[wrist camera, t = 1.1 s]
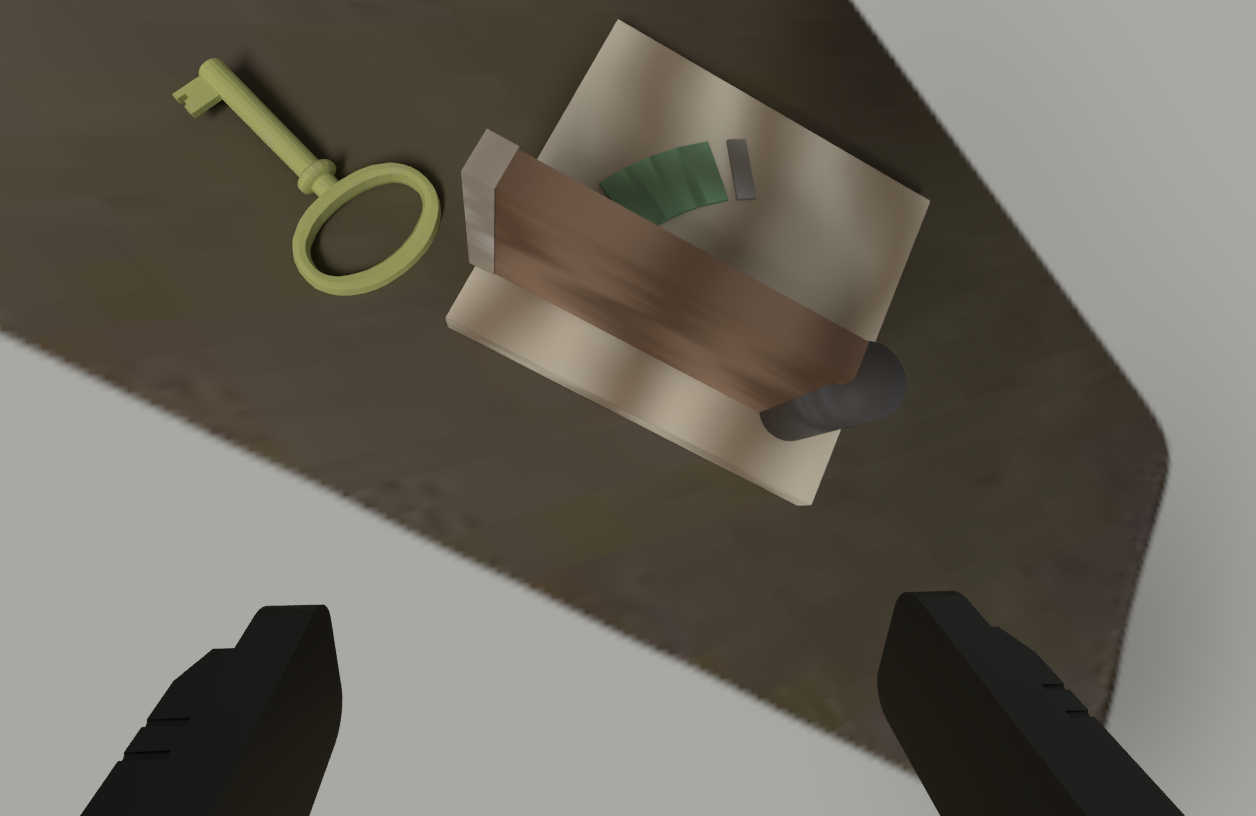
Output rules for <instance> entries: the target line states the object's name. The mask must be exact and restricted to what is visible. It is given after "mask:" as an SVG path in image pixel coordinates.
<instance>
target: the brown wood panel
mask: <svg viewBox="0 0 1256 816" xmlns="http://www.w3.org/2000/svg"><path fill="white" fill-rule="evenodd" d="M461 175H462V186H463V197H464V208H465V219H466V231H467V242H468V253H469V263H471V264H473V265H475V266H476V267H478V268H480V269H482V270H484V271H486V272H488V273H490V274H492V275H494V274H496V275H498V276H500V277H502V278H504V279H506V280H508V281H510V282H511V283H513V284H515V285H517V286H519V287H521V288H523V289H525V290H527V291H529V292H531V293H532V294H534V295H536V296H538V297H540V298H542V299H544V300H546V301H548V302H550V303H551V304H553V305H555V306H557V307H559V308H561V309H563V310H565V311H567V312H569V313H570V314H572V315H574V316H576V317H578V318H580V319H582V320H584V321H586V322H588V323H590V324H591V325H593V326H595V327H597V328H599V329H601V330H603V331H605V332H607V333H609V334H610V335H612V336H614V337H616V338H618V339H620V340H622V341H624V342H626V343H628V344H629V345H631V346H633V347H635V348H637V349H639V350H641V351H643V352H645V353H647V354H649V355H650V356H652V357H654V358H656V359H658V360H660V361H662V362H664V363H666V364H668V365H669V366H671V367H673V368H675V369H677V370H679V371H681V372H683V373H685V374H687V375H688V376H690V377H692V378H694V379H696V380H698V381H700V382H702V383H704V384H706V385H707V386H709V387H711V388H713V389H715V390H717V391H719V392H721V393H723V394H725V395H727V396H728V397H730V398H732V399H734V400H736V401H738V402H740V403H742V404H744V405H746V406H747V407H749V408H751V409H753V410H755V411H757V412H759V414H760V418H761V421H762V423H763V425H764V427H765V428H766V429H767V431H768V432H769V433H770V434H772V435H773V436H774V437H776V438H778V439H780V440H784V441H797V440H801V439H805V438H809V437H813V436H816V435H820V434H824V433H828V432H832V431H836V430H839V429H843V428H847V427H851V426H855V425H859V424H862V423H866V422H870V421H874V420H878V419H882V418H885V417H887V416H889V415H891V414H892V413H894V412H895V411H896V410H897V409H898V408H899V406H900V405H901V403H902V401H903V399H904V396H905V392H906V377H905V372H904V369H903V367H902V365H901V363H900V361H899V359H898V358H897V357H896V355H895V354H894V353H893V352H892V351H891V350H889V349H888V348H887V347H885V346H884V345H881V344H879V343H876V342H873V341H867V340H865V339H863V338H861V337H859V336H858V335H856V334H854V333H852V332H850V331H848V330H847V329H845V328H843V327H841V326H839V325H838V324H836V323H834V322H832V321H830V320H828V319H827V318H825V317H823V316H821V315H819V314H818V313H816V312H814V311H812V310H810V309H808V308H807V307H805V306H803V305H801V304H799V303H798V302H796V301H794V300H792V299H790V298H788V297H787V296H785V295H783V294H781V293H779V292H778V291H776V290H774V289H772V288H770V287H768V286H767V285H765V284H763V283H761V282H759V281H758V280H756V279H754V278H752V277H750V276H748V275H747V274H745V273H743V272H741V271H739V270H738V269H736V268H734V267H732V266H730V265H728V264H727V263H725V262H723V261H721V260H719V259H717V258H716V257H714V256H712V255H710V254H708V253H707V252H705V251H703V250H701V249H699V248H697V247H696V246H694V245H692V244H690V243H688V242H687V241H685V240H683V239H681V238H679V237H677V236H676V235H674V234H672V233H670V232H668V231H667V230H665V229H663V228H661V227H659V226H657V225H656V224H654V223H652V222H650V221H648V220H647V219H645V218H643V217H641V216H639V215H637V214H636V213H634V212H632V211H630V210H628V209H627V208H625V207H623V206H621V205H619V204H617V203H616V202H614V201H612V200H610V199H608V198H607V197H605V196H603V195H601V194H599V193H597V192H596V191H594V190H592V189H590V188H588V187H586V186H585V185H583V184H581V183H579V182H577V181H576V180H574V179H572V178H570V177H568V176H566V175H565V174H563V173H561V172H559V171H557V170H556V169H554V168H552V167H550V166H548V165H546V164H545V163H543V162H541V161H539V160H537V159H536V158H534V157H532V156H530V155H528V154H526V153H525V152H523V151H521V150H519V146H517V145H516V144H514V143H512V142H510V141H508V140H507V139H505V138H503V137H501V136H499V135H497V134H496V133H494V132H492V131H490V130H488V129H487V130H486V131H485V133H484V135H483V136H482V138H481V139H480V141H479V143H478V144H477V146H476V148H475V149H474V151H473V153H472V154H471V156H470V158H469V159H468V161H467V162H466V164H465V166H464V167H463V169H462V171H461Z"/></svg>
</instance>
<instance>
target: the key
mask: <svg viewBox="0 0 1256 816" xmlns="http://www.w3.org/2000/svg"><path fill="white" fill-rule="evenodd" d="M199 75H200V76H199V77H197V78H196V79H194V80H193V81H191V82H190V83H188V84H187V85H185V86H184V87H182V88H181V89H179V90H178V91H176V92H175V93H173V94H172V95H173V96H174V97H175V99H176V100H177V101H178V102H179V103H180V104H182V103H183V102H185V103H186V105H185V106H184V107H185V108H186V109H187V111H188V112H189V113H190V114H191V115H192V116H193V117H194V118H196V117H198V116H199V115H201V114H202V113H204V112H205V111H207V110H208V109H210V108H211V107H212V106H214V105H215V104H217V103H218V102H220V101H221V100H224V101H225V102H226V103H227V104H228V106H229V107H230V108H231V109H232V110H233V111H234V112H235V113H236V114H237V115H238V116H239V117H240V118H241V119H242V120H243V121H244V122H245V123H246V124H247V125H248V126H249V127H250V128H251V129H252V130H253V131H254V132H255V133H256V134H257V135H258V136H259V137H260V138H261V139H262V140H263V141H264V142H265V143H266V144H267V145H268V146H269V147H270V148H271V149H272V150H273V151H274V152H275V153H276V154H277V155H278V156H279V157H280V158H281V159H282V160H283V161H284V162H285V163H286V164H287V165H288V166H289V167H290V168H291V169H292V170H293V171H294V172H295V173H296V174H297V175H298V176H299V179H298V188H299V189H300V190H301V191H302V192H303V193H305V194H313V193H315V194H316V195H317V196H318V199H317V200H316V201H315V202H314V203H313V204H312V205H311V206H310V207H309V208H308V209H307V210H306V212H305V213H304V215H303V216H302V218H301V219H300V221H299V223H298V226H297V229H296V231H295V234H294V237H293V256H294V261H295V264H296V266H297V268H298V270H299V272H300V273H301V275H302V276H303V277H304V278H305V279H306V281H308V282H309V283H310V284H311V285H312V286H313V287H315V288H316V289H318V290H321V291H323V292H325V293H329V294H334V295H339V296H340V295H356V294H361V293H366V292H369V291H372V290H376V289H378V288H380V287H382V286H384V285H387V284H388V283H390V282H391V281H393V280H394V279H396V278H398V277H399V276H400V275H402V274H403V273H404V272H406V271H407V270H408V269H409V268H411V267H412V266H413V265H414V264H415V263H416V262H417V261H418V260H419V259H420V258H421V257H422V255H423V254H424V253H425V252H426V251H427V250H428V248H429V247H430V245H431V244H432V242H433V240H434V238H435V236H436V233H437V230H438V227H439V224H440V219H441V206H440V200H439V197H438V195H437V192H436V190H435V188H434V187H433V185H432V184H431V183H430V182H429V180H428V179H427V178H426V177H425V176H424V175H423V174H421V173H420V172H419V171H417V170H416V169H414V168H412V167H410V166H407V165H403V164H398V163H384V164H377V165H371V166H368V167H366V168H363V169H360V170H357V171H356V172H354V173H352V174H350V175H348V176H347V177H345V178H343V179H341V180H340V181H339V180H338V179H337V178H336V177H335V174H336V166H335V165H334V163H333V162H332V161H330V160H329V159H321V160H318V159H317V158H316V157H315V156H314V155H313V154H312V153H311V152H310V151H309V150H308V149H307V148H306V147H305V146H304V145H303V144H302V143H301V141H300V140H299V139H298V138H297V137H296V136H295V135H294V134H293V133H292V132H291V131H290V130H289V129H288V128H287V127H286V126H285V125H284V124H283V123H282V122H281V121H280V120H279V119H278V118H277V117H276V116H275V115H274V114H273V113H272V112H271V111H270V110H269V109H268V108H267V107H266V106H265V105H264V104H263V103H262V102H261V101H260V100H259V99H258V98H257V97H256V96H255V95H254V93H253V92H252V91H251V90H250V89H249V88H248V87H247V86H246V85H245V84H244V83H243V82H242V81H241V80H240V79H239V78H238V77H237V76H236V75H235V74H234V73H233V72H232V71H231V70H230V69H229V68H228V67H227V66H226V65H225V64H224V63H223V62H222V61H221V60H220V59H218V58H212V59H209V60H207V61H206V62H205V63H204V64H202V66H201V67H200V70H199ZM389 183H402V184H406V185H408V186H410V187H412V188H414V189H415V190H416V191H417V192H419V194H420V196H421V198H422V201H423V209H422V212H421V216H420V218H419V220H418V223H417V225H416V227H415V229H414V231H413V232H412V234H411V235H410V236H409V237H408V239H407V240H406V241H405V242H404V244H403V245H402V246H401V247H400V248H399V249H398V250H396V251H395V252H394V253H393V254H392V255H391V256H389V257H388V258H387V259H385V260H384V261H382V262H380V263H379V264H377V265H375V266H373V267H371V268H369V269H367V270H365V271H362V272H359V273H355V274H351V275H347V276H339V277H336V276H329V275H326V274H323V273H322V272H320V271H319V270H318V269H317V268H316V266H315V265H314V263H313V261H312V258H311V254H310V252H311V246H312V244H313V241H314V239H315V237H316V235H317V233H318V232H319V230H320V228H321V227H322V225H323V224H324V223H325V222H326V221H327V220H328V219H329V218H330V217H331V216H332V215H333V214H334V213H335V212H336V211H337V210H338V209H339V208H341V207H342V206H343V205H344V204H346V203H347V202H348V201H350V200H351V199H353V198H354V197H356V196H358V195H359V194H361V193H363V192H365V191H366V190H369V189H371V188H374V187H377V186H380V185H384V184H389Z"/></svg>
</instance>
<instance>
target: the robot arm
mask: <svg viewBox="0 0 1256 816" xmlns="http://www.w3.org/2000/svg"><path fill="white" fill-rule="evenodd" d="M877 686H878V695H879V700H880V704H881V707H882V710H883V713H884V715H885V717H886V719H887V721H888V723H889V725H890V727H891V728H892V730H893V732H894V734H895V736H896V737H897V739H898V741H899V743H900V745H901V746H902V748H903V750H904V752H905V753H906V755H907V757H908V759H909V761H910V762H911V764H912V766H913V768H914V770H915V771H916V773H917V775H918V777H919V779H920V780H921V782H922V784H923V786H924V787H925V789H926V791H927V793H928V794H929V796H930V798H931V800H932V802H933V804H934V805H935V807H936V809H937V811H938V812H939V814H940V816H1184V814H1183V813H1182V812H1181V811H1180V810H1179V809H1178V808H1177V807H1176V805H1175V804H1174V803H1173V802H1172V801H1171V800H1170V799H1169V798H1168V797H1167V796H1166V795H1165V793H1163V791H1162V790H1161V789H1160V788H1159V787H1158V786H1157V785H1156V784H1155V783H1154V781H1153V780H1152V779H1151V778H1150V777H1149V776H1148V775H1147V774H1146V773H1145V772H1144V770H1142V768H1141V767H1140V766H1139V765H1138V764H1137V763H1136V762H1135V761H1134V760H1133V759H1132V758H1131V757H1130V755H1128V753H1127V752H1126V751H1125V750H1124V749H1123V748H1122V747H1121V745H1120V744H1119V743H1118V742H1117V741H1116V740H1115V739H1114V738H1113V737H1112V736H1111V734H1110V733H1109V732H1108V731H1107V730H1106V729H1105V728H1104V727H1103V726H1102V725H1101V723H1100V722H1099V721H1098V720H1097V719H1096V718H1095V717H1090V716H1089V714H1088V709H1087V708H1086V707H1085V706H1084V705H1083V704H1082V703H1081V702H1080V701H1079V699H1078V698H1077V697H1076V696H1075V695H1074V694H1073V693H1072V692H1071V691H1070V690H1065V688H1064V683H1063V682H1062V681H1061V680H1060V679H1059V678H1058V677H1057V675H1056V674H1055V673H1054V672H1053V671H1052V670H1051V669H1050V668H1049V667H1048V666H1047V664H1046V663H1045V662H1044V661H1043V660H1042V659H1041V658H1040V657H1039V656H1038V655H1037V654H1036V652H1034V651H1033V650H1031V649H1030V648H1028V647H1027V646H1025V645H1024V644H1023V643H1021V642H1020V641H1018V640H1017V639H1015V638H1014V637H1012V636H1011V635H1010V634H1008V633H1007V632H1005V631H1004V630H1002V629H1001V628H999V627H998V626H997V627H991V626H990V625H989V624H988V623H987V621H986V620H985V619H984V618H983V617H982V616H981V615H980V613H979V612H978V611H977V610H976V609H975V608H974V607H973V605H972V604H971V603H970V602H969V601H968V600H967V599H966V598H965V597H964V596H963V595H962V594H960V593H959V592H956V591H933V592H905V593H903V594H901V595H900V596H899V597H898V599H897V601H896V604H895V607H894V611H893V615H892V619H891V623H890V627H889V631H888V635H887V639H886V643H885V646H884V650H883V654H882V658H881V662H880V666H879V670H878V677H877ZM341 714H342V688H341V682H340V675H339V668H338V662H337V655H336V649H335V642H334V636H333V629H332V623H331V617H330V613H329V610H328V608H327V607H326V606H325V605H293V606H292V605H288V606H265V607H262V608H261V609H260V610H259V611H258V612H257V613H256V614H255V616H254V617H253V619H252V621H251V623H250V624H249V625H248V627H247V629H246V630H245V632H244V634H243V635H242V637H241V639H240V640H239V642H238V643H237V645H236V646H235V648H229V649H228V648H226V649H212V650H211V651H210V652H209V653H207V654H206V655H205V656H204V657H202V658H201V659H200V660H199V661H198V662H196V663H195V664H194V665H193V666H191V667H190V668H189V669H188V670H186V671H185V672H184V673H183V674H182V675H180V676H179V677H178V678H177V679H175V680H174V681H173V683H172V684H171V685H170V687H169V688H168V690H167V691H166V693H165V694H164V696H163V697H162V698H161V700H160V702H159V703H158V704H157V706H156V707H155V708H154V710H153V712H152V713H151V714H150V716H149V717H148V719H147V724H146V726H145V727H142V728H141V729H140V730H139V732H138V733H137V735H136V736H135V737H134V739H133V740H132V742H131V743H130V745H129V746H128V747H127V749H126V751H125V752H124V758H123V760H122V761H118V762H117V763H116V765H115V766H114V768H113V769H112V770H111V772H110V773H109V775H108V776H107V778H106V779H105V781H104V782H103V784H102V785H101V787H100V788H99V789H98V791H97V792H96V794H95V795H94V797H93V798H92V799H91V801H90V802H89V804H88V805H87V807H86V808H85V810H84V811H83V812H82V814H81V815H80V816H309V815H310V812H311V809H312V806H313V804H314V801H315V798H316V796H317V793H318V790H319V787H320V784H321V782H322V779H323V776H324V773H325V770H326V768H327V765H328V762H329V759H330V756H331V754H332V751H333V748H334V745H335V742H336V739H337V735H338V732H339V727H340V721H341Z"/></svg>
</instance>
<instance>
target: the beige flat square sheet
mask: <svg viewBox="0 0 1256 816" xmlns="http://www.w3.org/2000/svg"><path fill="white" fill-rule="evenodd" d="M537 160H539V161H541V162H543V163H545V164H546V165H548V166H550V167H552V168H554V169H556V170H557V171H559V172H561V173H563V174H565V175H566V176H568V177H570V178H572V179H574V180H576V181H577V182H579V183H581V184H583V185H585V186H586V187H588V188H590V189H592V190H594V191H596V192H597V193H599V194H601V195H603V196H605V197H607V198H608V199H610V200H612V201H614V202H616V203H617V204H619V205H621V206H623V207H625V208H627V209H628V210H630V211H632V212H634V213H636V214H637V215H639V216H641V217H643V218H645V219H647V220H648V221H650V222H652V223H654V224H656V225H657V226H659V227H661V228H663V229H665V230H667V231H668V232H670V233H672V234H674V235H676V236H677V237H679V238H681V239H683V240H685V241H687V242H688V243H690V244H692V245H694V246H696V247H697V248H699V249H701V250H703V251H705V252H707V253H708V254H710V255H712V256H714V257H716V258H717V259H719V260H721V261H723V262H725V263H727V264H728V265H730V266H732V267H734V268H736V269H738V270H739V271H741V272H743V273H745V274H747V275H748V276H750V277H752V278H754V279H756V280H758V281H759V282H761V283H763V284H765V285H767V286H768V287H770V288H772V289H774V290H776V291H778V292H779V293H781V294H783V295H785V296H787V297H788V298H790V299H792V300H794V301H796V302H798V303H799V304H801V305H803V306H805V307H807V308H808V309H810V310H812V311H814V312H816V313H818V314H819V315H821V316H823V317H825V318H827V319H828V320H830V321H832V322H834V323H836V324H838V325H839V326H841V327H843V328H845V329H847V330H848V331H850V332H852V333H854V334H856V335H858V336H859V337H861V338H863V339H865V340H867V341H873V342H875V341H876V339H877V336H878V333H879V331H880V328H881V326H882V323H883V321H884V318H885V316H886V313H887V310H888V308H889V305H890V303H891V300H892V298H893V295H894V293H895V290H896V287H897V285H898V282H899V280H900V277H901V275H902V272H903V270H904V267H905V264H906V262H907V259H908V257H909V254H910V252H911V249H912V247H913V244H914V242H915V239H916V236H917V234H918V231H919V229H920V226H921V224H922V221H923V219H924V216H925V213H926V211H927V208H928V206H929V203H930V201H929V200H928V199H926V198H924V197H922V196H921V195H919V194H917V193H916V192H914V191H912V190H910V189H909V188H907V187H905V186H904V185H902V184H900V183H898V182H897V181H895V180H893V179H891V178H890V177H888V176H886V175H885V174H883V173H881V172H879V171H878V170H876V169H874V168H873V167H871V166H869V165H867V164H866V163H864V162H862V161H861V160H859V159H857V158H855V157H854V156H852V155H850V154H849V153H847V152H845V151H843V150H842V149H840V148H838V147H837V146H835V145H833V144H831V143H830V142H828V141H826V140H825V139H823V138H821V137H819V136H818V135H816V134H814V133H813V132H811V131H809V130H807V129H806V128H804V127H802V126H801V125H799V124H797V123H795V122H794V121H792V120H790V119H789V118H787V117H785V116H783V115H782V114H780V113H778V112H777V111H775V110H773V109H771V108H770V107H768V106H766V105H765V104H763V103H761V102H759V101H758V100H756V99H754V98H753V97H751V96H749V95H747V94H746V93H744V92H742V91H741V90H739V89H737V88H735V87H734V86H732V85H730V84H728V83H727V82H725V81H723V80H722V79H720V78H718V77H716V76H715V75H713V74H711V73H710V72H708V71H706V70H704V69H703V68H701V67H699V66H698V65H696V64H694V63H692V62H691V61H689V60H687V59H686V58H684V57H682V56H680V55H679V54H677V53H675V52H674V51H672V50H670V49H668V48H667V47H665V46H663V45H662V44H660V43H658V42H656V41H655V40H653V39H651V38H650V37H648V36H646V35H644V34H643V33H641V32H639V31H638V30H636V29H634V28H632V27H631V26H629V25H627V24H626V23H624V22H622V21H620V20H619V19H618V20H617V22H616V24H615V25H614V27H613V29H612V31H611V32H610V34H609V36H608V38H607V39H606V41H605V43H604V44H603V46H602V48H601V50H600V51H599V53H598V55H597V57H596V58H595V60H594V62H593V63H592V65H591V67H590V69H589V70H588V72H587V74H586V76H585V77H584V79H583V81H582V83H581V84H580V86H579V88H578V89H577V91H576V93H575V95H574V96H573V98H572V100H571V102H570V103H569V105H568V107H567V108H566V110H565V112H564V114H563V115H562V117H561V119H560V121H559V122H558V124H557V126H556V128H555V129H554V131H553V133H552V134H551V136H550V138H549V140H548V141H547V143H546V145H545V147H544V148H543V150H542V152H541V153H540V155H539V157H538V159H537ZM446 320H447V324H448V327H449V328H451V329H453V330H455V331H457V332H459V333H461V334H463V335H465V336H467V337H469V338H471V339H473V340H475V341H477V342H479V343H481V344H482V345H484V346H486V347H488V348H490V349H492V350H494V351H496V352H498V353H500V354H502V355H504V356H506V357H508V358H510V359H512V360H514V361H516V362H518V363H520V364H522V365H524V366H525V367H527V368H529V369H531V370H533V371H535V372H537V373H539V374H541V375H543V376H545V377H547V378H549V379H551V380H553V381H555V382H557V383H559V384H561V385H563V386H565V387H566V388H568V389H570V390H572V391H574V392H576V393H578V394H580V395H582V396H584V397H586V398H588V399H590V400H592V401H594V402H596V403H598V404H600V405H602V406H604V407H606V408H608V409H609V410H611V411H613V412H615V413H617V414H619V415H621V416H623V417H625V418H627V419H629V420H631V421H633V422H635V423H637V424H639V425H641V426H643V427H645V428H647V429H649V430H650V431H652V432H654V433H656V434H658V435H660V436H662V437H664V438H666V439H668V440H670V441H672V442H674V443H676V444H678V445H680V446H682V447H684V448H686V449H688V450H690V451H692V452H693V453H695V454H697V455H699V456H701V457H703V458H705V459H707V460H709V461H711V462H713V463H715V464H717V465H719V466H721V467H723V468H725V469H727V470H729V471H731V472H733V473H734V474H736V475H738V476H740V477H742V478H744V479H746V480H748V481H750V482H752V483H754V484H756V485H758V486H760V487H762V488H764V489H766V490H768V491H770V492H772V493H774V494H776V495H777V496H779V497H781V498H783V499H785V500H787V501H789V502H791V503H793V504H795V505H797V506H799V505H811V504H812V502H813V499H814V497H815V494H816V492H817V489H818V487H819V484H820V481H821V479H822V476H823V474H824V471H825V469H826V466H827V464H828V461H829V459H830V456H831V453H832V451H833V448H834V446H835V443H836V441H837V438H838V436H839V433H840V430H841V429H839V430H836V431H832V432H828V433H824V434H820V435H816V436H813V437H809V438H805V439H801V440H797V441H784V440H780V439H778V438H776V437H774V436H773V435H772V434H770V433H769V432H768V431H767V429H766V428H765V427H764V425H763V423H762V421H761V418H760V414H759V412H757V411H755V410H753V409H751V408H749V407H747V406H746V405H744V404H742V403H740V402H738V401H736V400H734V399H732V398H730V397H728V396H727V395H725V394H723V393H721V392H719V391H717V390H715V389H713V388H711V387H709V386H707V385H706V384H704V383H702V382H700V381H698V380H696V379H694V378H692V377H690V376H688V375H687V374H685V373H683V372H681V371H679V370H677V369H675V368H673V367H671V366H669V365H668V364H666V363H664V362H662V361H660V360H658V359H656V358H654V357H652V356H650V355H649V354H647V353H645V352H643V351H641V350H639V349H637V348H635V347H633V346H631V345H629V344H628V343H626V342H624V341H622V340H620V339H618V338H616V337H614V336H612V335H610V334H609V333H607V332H605V331H603V330H601V329H599V328H597V327H595V326H593V325H591V324H590V323H588V322H586V321H584V320H582V319H580V318H578V317H576V316H574V315H572V314H570V313H569V312H567V311H565V310H563V309H561V308H559V307H557V306H555V305H553V304H551V303H550V302H548V301H546V300H544V299H542V298H540V297H538V296H536V295H534V294H532V293H531V292H529V291H527V290H525V289H523V288H521V287H519V286H517V285H515V284H513V283H511V282H510V281H508V280H506V279H504V278H502V277H500V276H498V275H496V274H494V275H492V274H490V273H488V272H486V271H484V270H482V269H480V268H478V267H476V266H475V268H474V269H473V271H472V273H471V275H470V276H469V278H468V280H467V282H466V283H465V285H464V287H463V289H462V290H461V292H460V294H459V295H458V297H457V299H456V301H455V302H454V304H453V306H452V308H451V309H450V311H449V313H448V314H447V316H446Z"/></svg>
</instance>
